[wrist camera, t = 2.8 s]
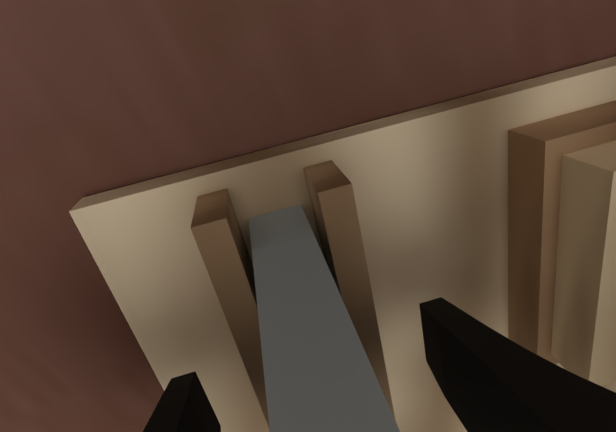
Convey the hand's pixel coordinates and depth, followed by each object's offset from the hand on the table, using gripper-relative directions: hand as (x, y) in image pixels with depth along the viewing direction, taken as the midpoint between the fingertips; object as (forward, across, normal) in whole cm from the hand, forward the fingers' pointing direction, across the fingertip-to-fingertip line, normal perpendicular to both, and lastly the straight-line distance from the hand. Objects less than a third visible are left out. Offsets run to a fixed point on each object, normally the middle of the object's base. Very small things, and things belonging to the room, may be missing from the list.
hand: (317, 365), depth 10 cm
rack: (+3, -5, +6) cm, 9 cm away
